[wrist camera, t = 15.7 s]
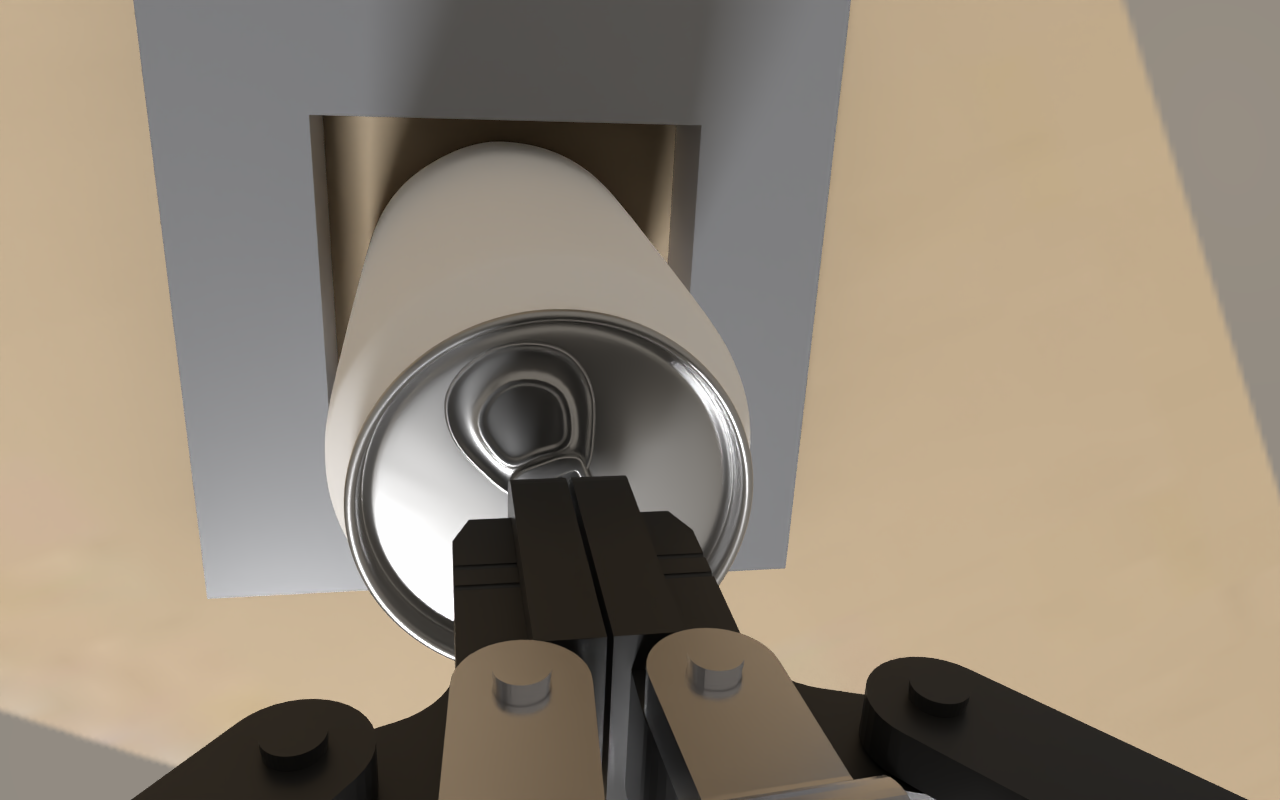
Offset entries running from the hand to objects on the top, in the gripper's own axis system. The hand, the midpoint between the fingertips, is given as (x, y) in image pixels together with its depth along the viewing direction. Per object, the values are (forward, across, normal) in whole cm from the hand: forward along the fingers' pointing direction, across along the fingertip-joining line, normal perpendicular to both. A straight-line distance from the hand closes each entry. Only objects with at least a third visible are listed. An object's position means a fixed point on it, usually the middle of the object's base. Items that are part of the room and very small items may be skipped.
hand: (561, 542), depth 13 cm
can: (+13, 0, 0) cm, 13 cm away
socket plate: (+13, 0, 0) cm, 13 cm away
